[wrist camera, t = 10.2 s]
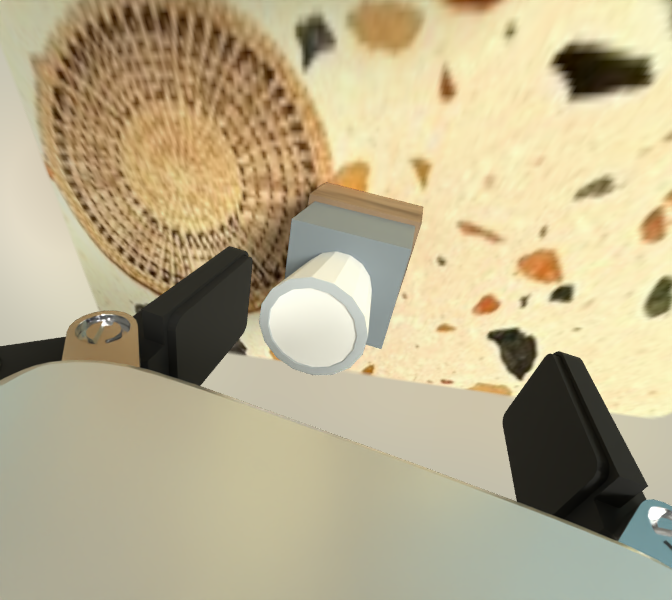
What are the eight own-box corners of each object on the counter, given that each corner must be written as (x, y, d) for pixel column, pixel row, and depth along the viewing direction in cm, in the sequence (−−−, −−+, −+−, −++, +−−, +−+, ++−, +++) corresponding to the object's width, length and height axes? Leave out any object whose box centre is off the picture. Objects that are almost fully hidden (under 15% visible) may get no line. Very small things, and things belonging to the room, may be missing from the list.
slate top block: (315, 201, 31) (291, 218, 26) (415, 226, 30) (411, 249, 25) (302, 289, 36) (280, 319, 31) (388, 313, 35) (381, 348, 30)
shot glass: (383, 246, 26) (371, 283, 19) (376, 329, 29) (364, 384, 22) (292, 239, 27) (253, 272, 21) (295, 319, 30) (262, 368, 24)
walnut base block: (327, 181, 36) (309, 193, 31) (423, 206, 35) (421, 222, 30) (311, 269, 41) (294, 291, 36) (395, 292, 40) (390, 319, 35)
